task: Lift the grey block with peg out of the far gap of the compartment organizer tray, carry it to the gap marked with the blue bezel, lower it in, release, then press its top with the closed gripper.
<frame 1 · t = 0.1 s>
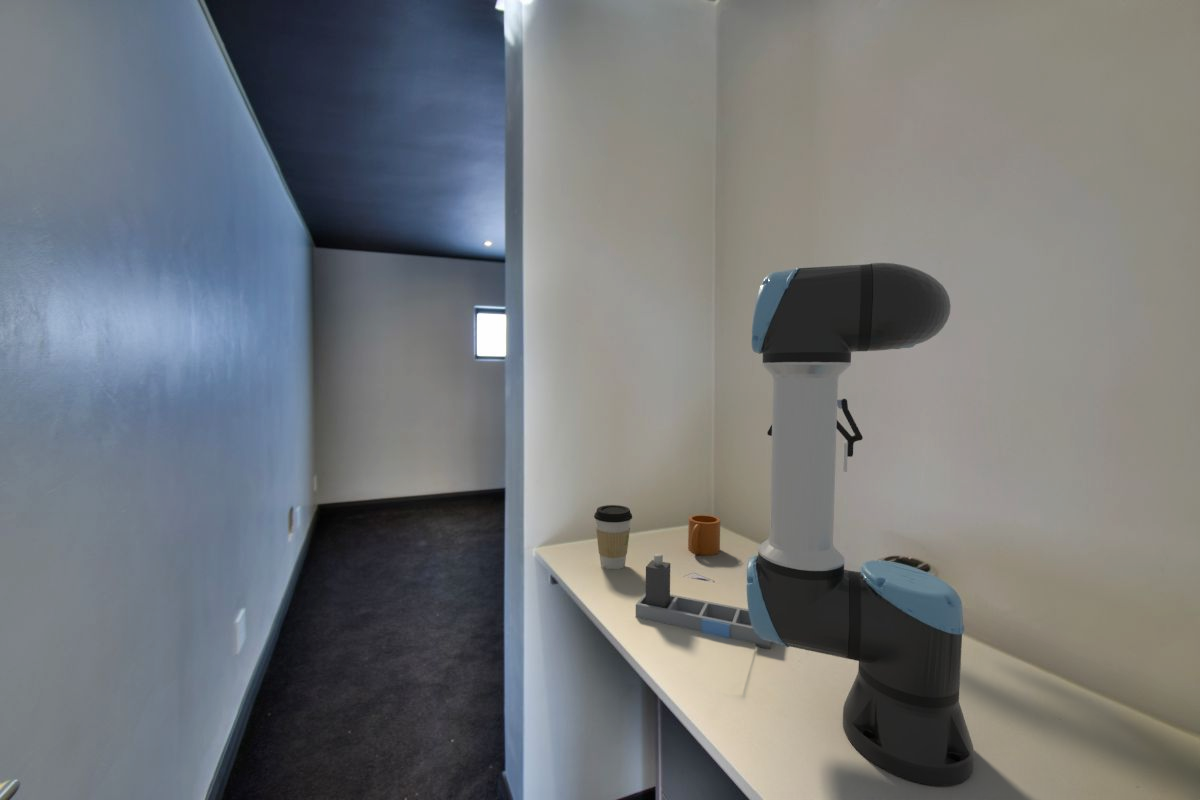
hand: (812, 468, 117), 28 cm above the table, fingers open, 13 cm apart
grey block with peg: (657, 612, 103), point 1 cm above the table, touching compartment organizer tray
mug: (700, 551, 141), on the table
coffee cup: (612, 567, 129), on the table
smartphone: (684, 589, 117), on the table
compartment organizer tray: (703, 624, 100), on the table
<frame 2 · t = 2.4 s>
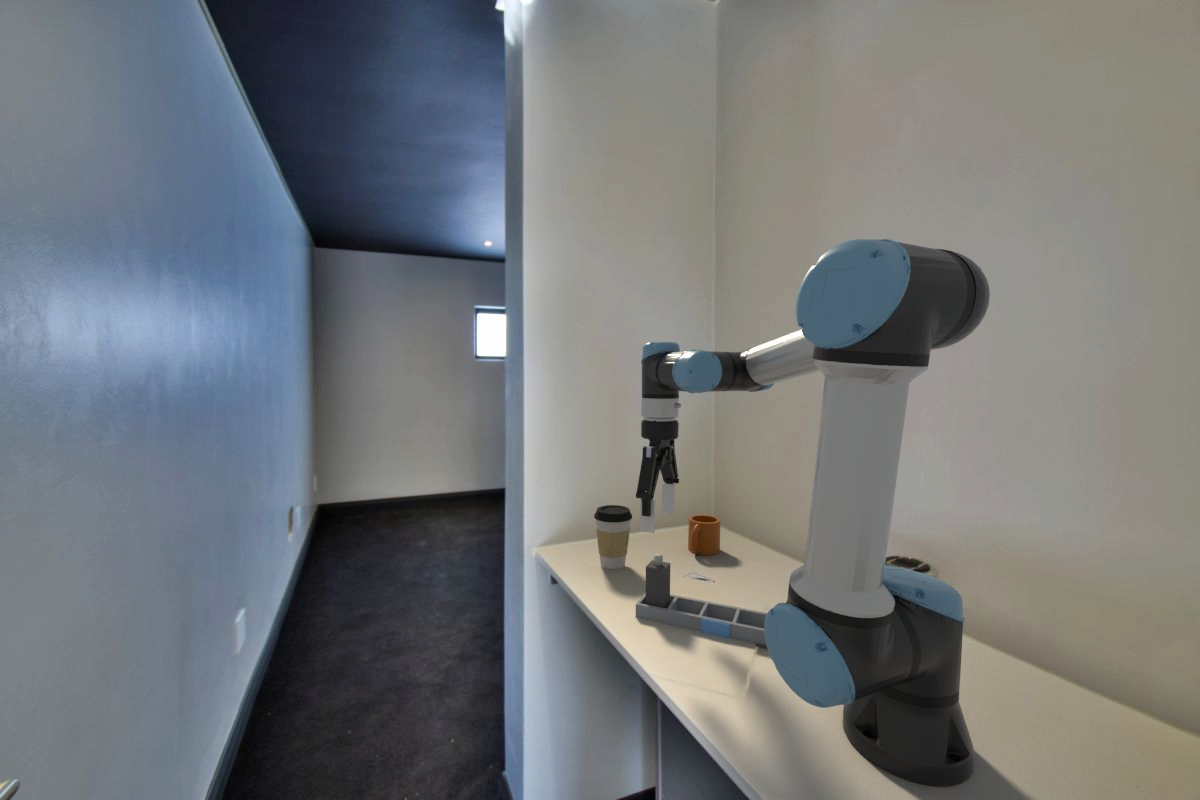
hand: (658, 522, 103), 19 cm above the table, fingers open, 13 cm apart
nothing on the table moved.
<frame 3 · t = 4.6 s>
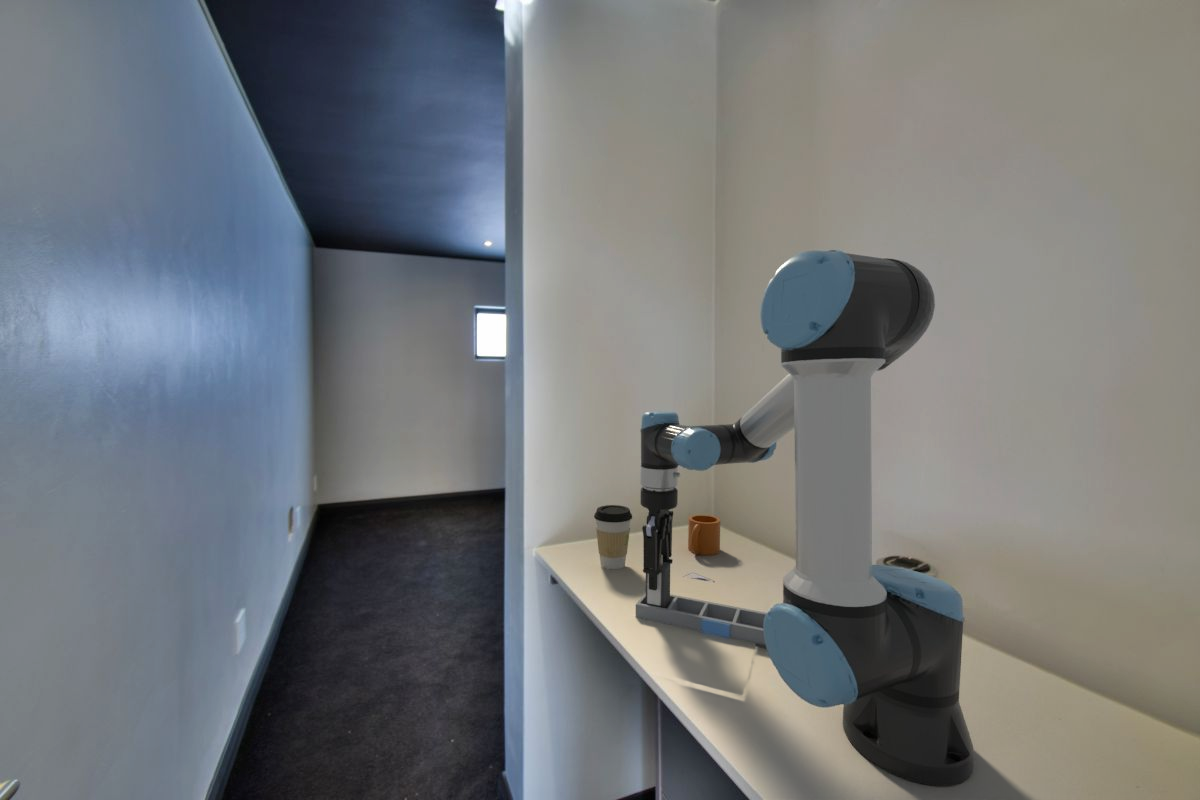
hand: (657, 598, 103), 3 cm above the table, fingers closed on grey block with peg, 4 cm apart
grey block with peg: (657, 612, 103), point 1 cm above the table, touching compartment organizer tray, gripper
everything else where it was.
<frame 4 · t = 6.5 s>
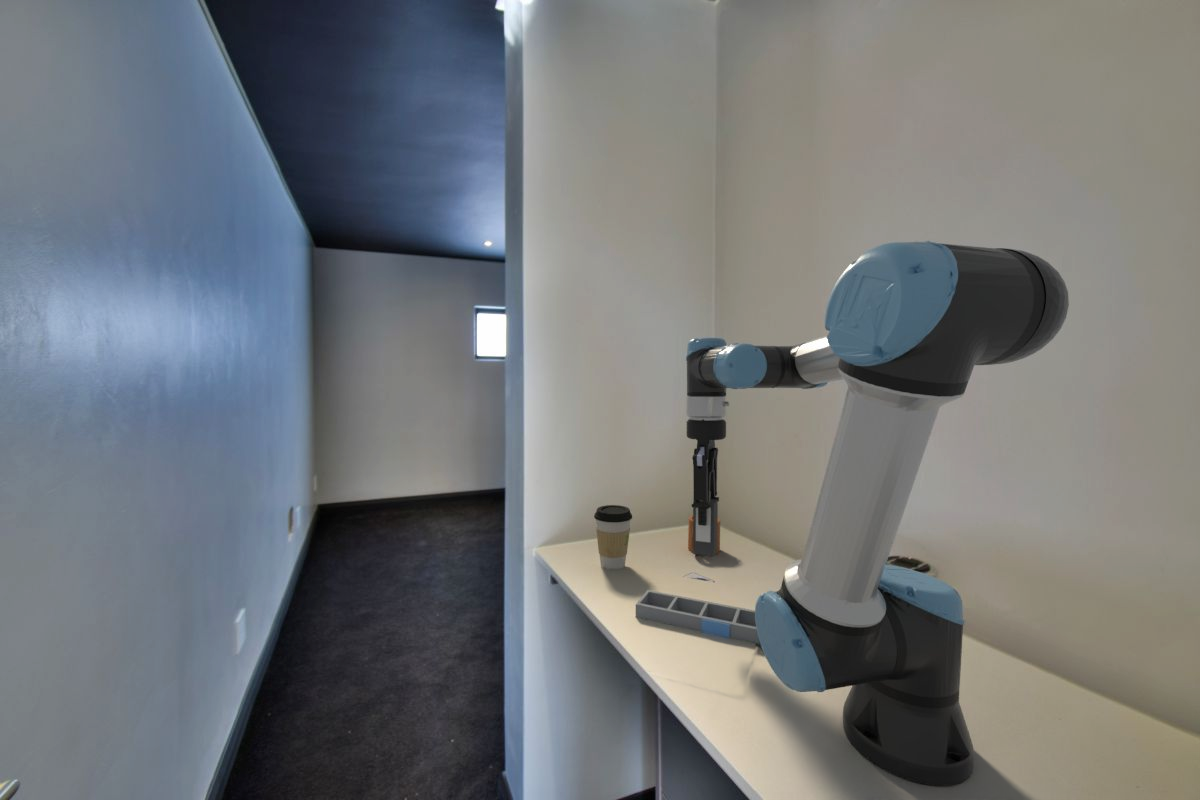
hand: (705, 537, 98), 18 cm above the table, fingers closed on grey block with peg, 4 cm apart
grey block with peg: (705, 551, 98), point 15 cm above the table, touching gripper
everything else where it was.
when the fingers open (5 cm above the table, at t = 8.9 s): grey block with peg drops 2 cm, resting on compartment organizer tray.
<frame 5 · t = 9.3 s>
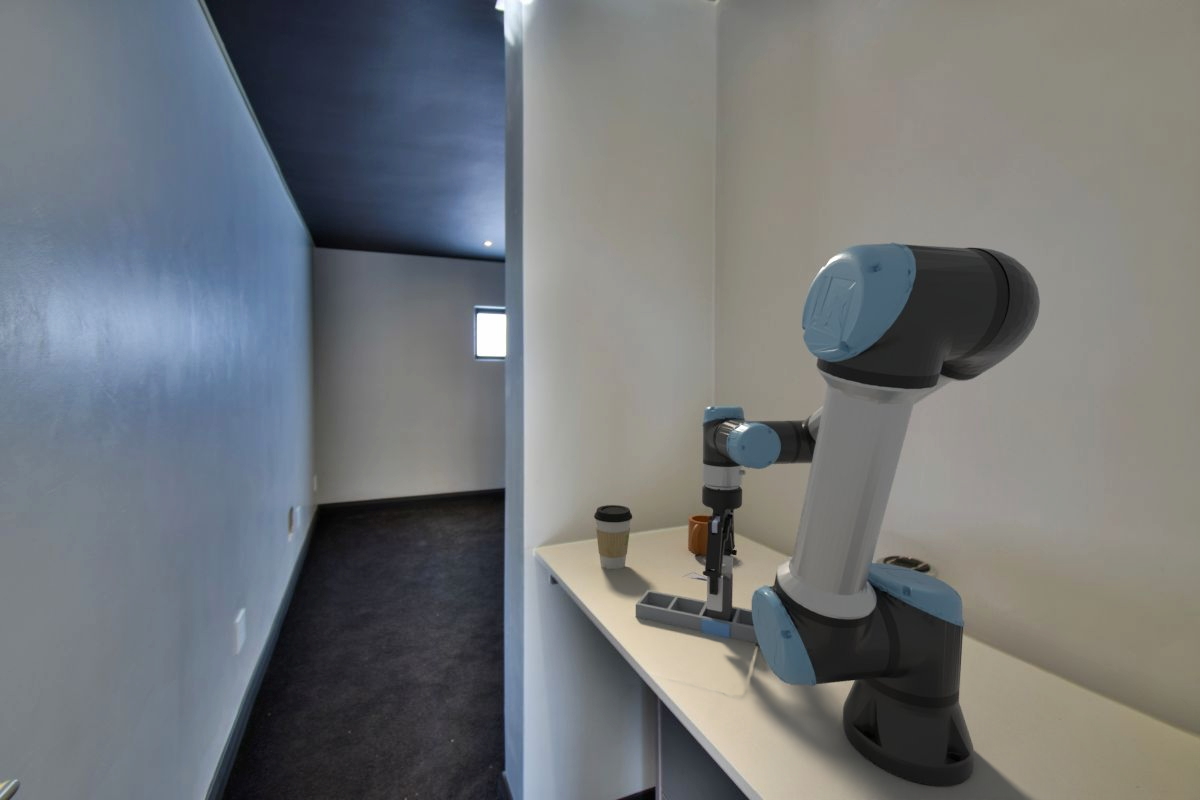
hand: (720, 597, 98), 6 cm above the table, fingers open, 10 cm apart
grey block with peg: (719, 625, 98), point 1 cm above the table, touching compartment organizer tray
everything else where it was.
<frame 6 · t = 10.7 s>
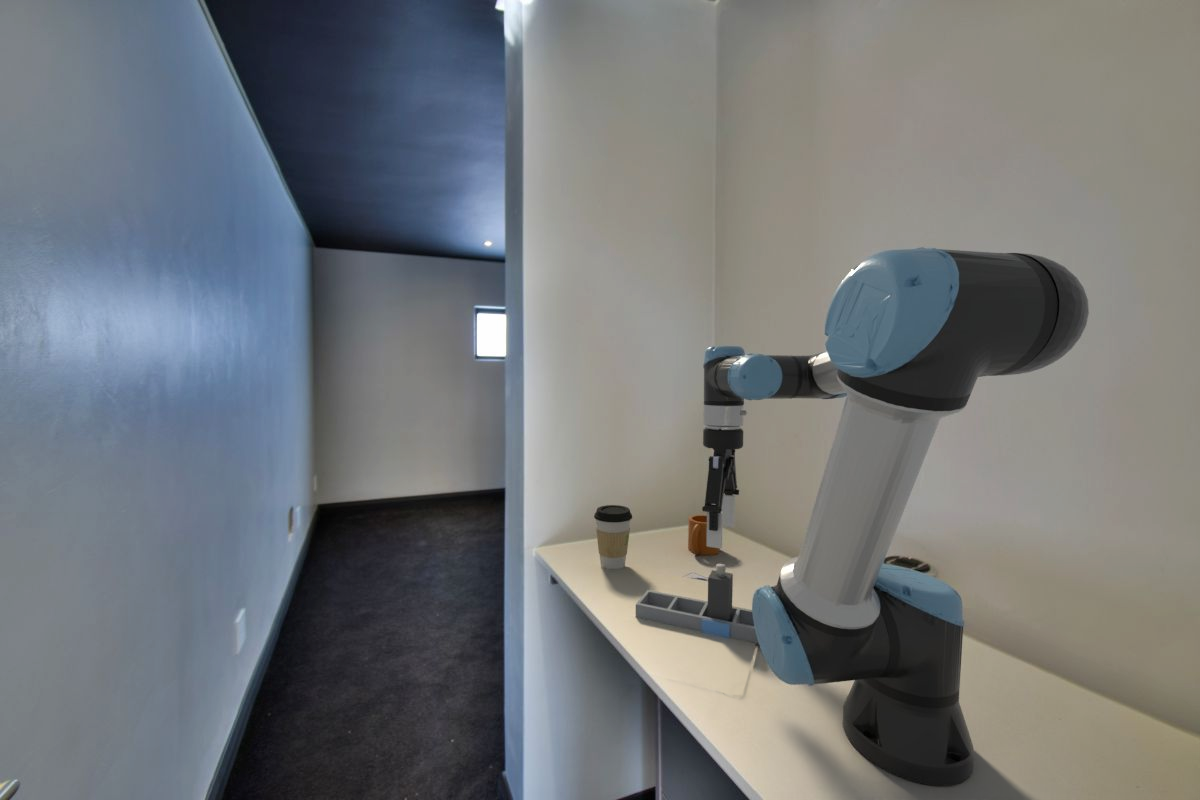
hand: (721, 536, 97), 18 cm above the table, fingers open, 13 cm apart
nothing on the table moved.
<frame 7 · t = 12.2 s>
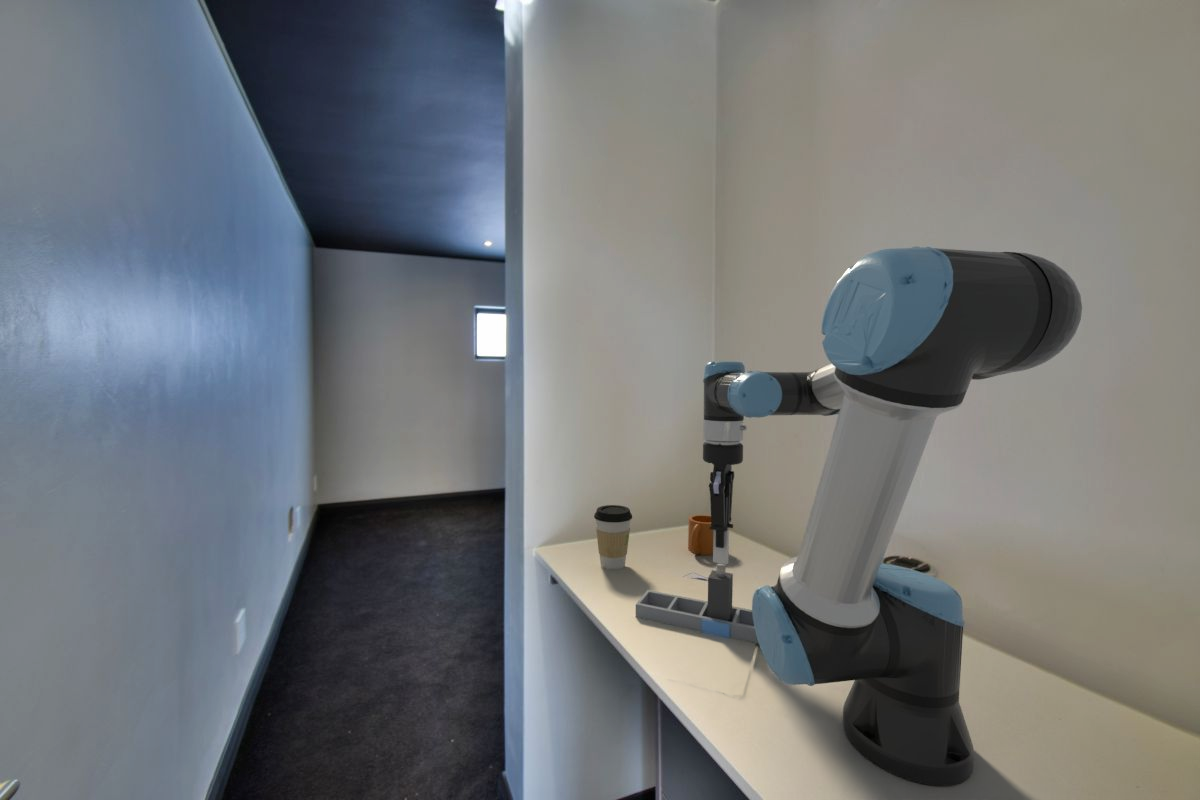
hand: (720, 561, 98), 13 cm above the table, fingers closed
nothing on the table moved.
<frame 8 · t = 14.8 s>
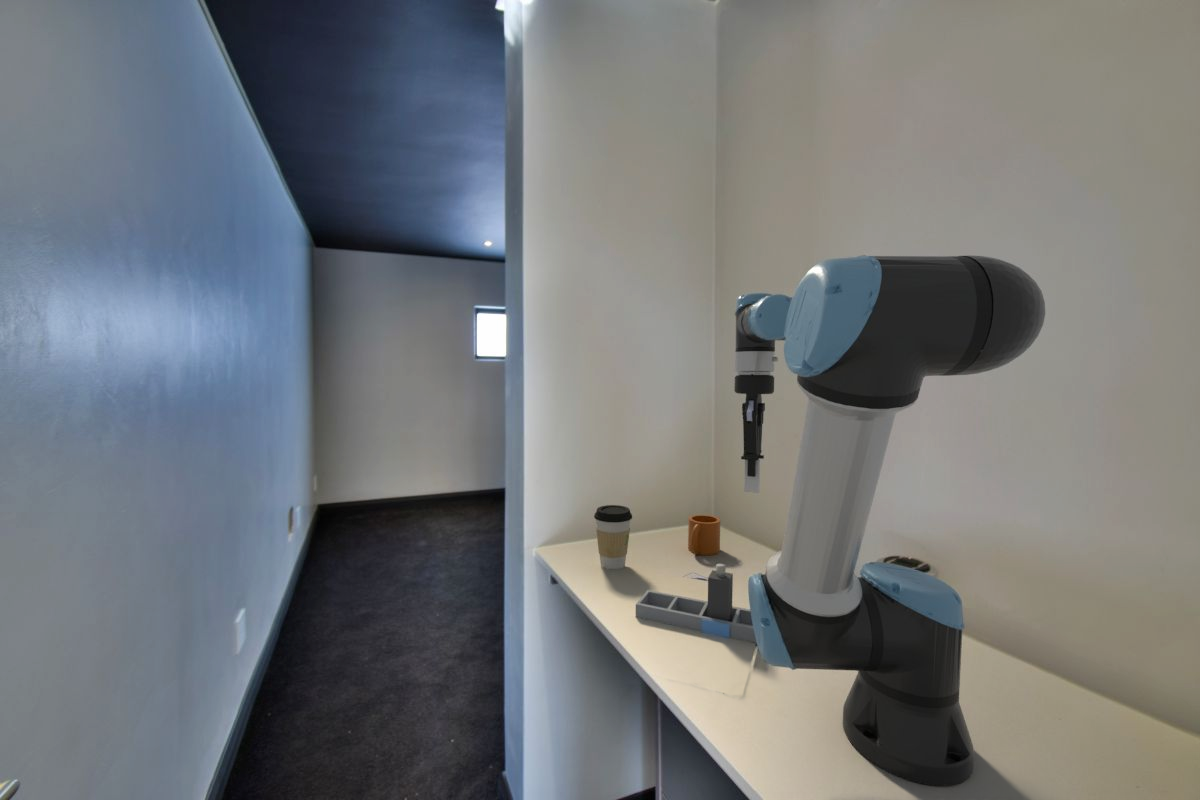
hand: (751, 491, 100), 26 cm above the table, fingers closed
nothing on the table moved.
at the end: grey block with peg 0.1 cm from the target spot on the compartment organizer tray, point 0.6 cm above the compartment organizer tray's base; grey block with peg tilted 0°; the gripper is holding nothing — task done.
